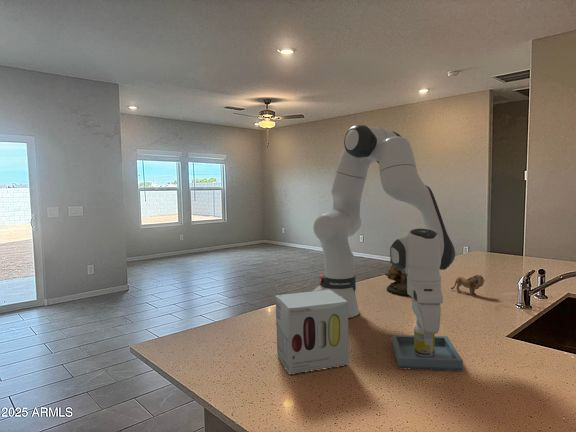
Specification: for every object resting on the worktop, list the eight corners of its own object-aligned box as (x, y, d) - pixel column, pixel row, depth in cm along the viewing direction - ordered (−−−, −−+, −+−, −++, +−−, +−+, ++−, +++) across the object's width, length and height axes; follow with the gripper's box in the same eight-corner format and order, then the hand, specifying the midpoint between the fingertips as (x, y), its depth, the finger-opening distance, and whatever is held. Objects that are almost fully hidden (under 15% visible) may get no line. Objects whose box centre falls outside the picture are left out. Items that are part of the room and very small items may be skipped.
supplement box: (289, 377, 100) (287, 308, 98) (276, 355, 113) (274, 294, 111) (350, 366, 105) (349, 300, 103) (331, 346, 118) (330, 288, 116)
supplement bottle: (425, 347, 112) (425, 314, 112) (438, 355, 107) (439, 320, 106) (410, 351, 110) (409, 317, 110) (423, 359, 105) (423, 324, 105)
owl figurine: (378, 291, 176) (377, 253, 174) (394, 286, 183) (393, 250, 182) (413, 298, 162) (413, 258, 160) (429, 293, 169) (428, 254, 168)
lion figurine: (486, 295, 162) (486, 274, 162) (480, 298, 159) (480, 276, 158) (453, 289, 174) (453, 269, 173) (447, 291, 171) (447, 271, 170)
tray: (398, 368, 102) (398, 358, 102) (391, 343, 118) (391, 334, 118) (462, 371, 100) (462, 360, 99) (447, 345, 115) (447, 336, 115)
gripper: (406, 278, 118) (406, 323, 119) (418, 299, 98) (418, 352, 99) (428, 279, 117) (428, 323, 118) (444, 299, 97) (444, 352, 98)
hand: (424, 336), depth 108 cm, fingers open, 8 cm apart
